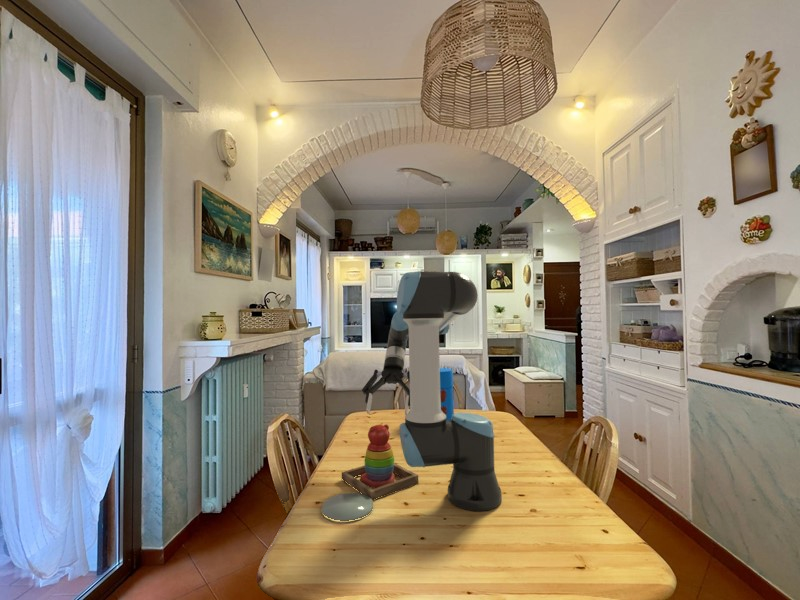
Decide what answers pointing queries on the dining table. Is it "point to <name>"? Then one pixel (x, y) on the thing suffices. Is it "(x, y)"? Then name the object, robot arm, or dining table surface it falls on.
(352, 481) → the collar
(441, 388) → the thermos
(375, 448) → the stacking bear
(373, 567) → the dining table surface
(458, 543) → the dining table surface
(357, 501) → the pad
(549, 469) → the dining table surface
